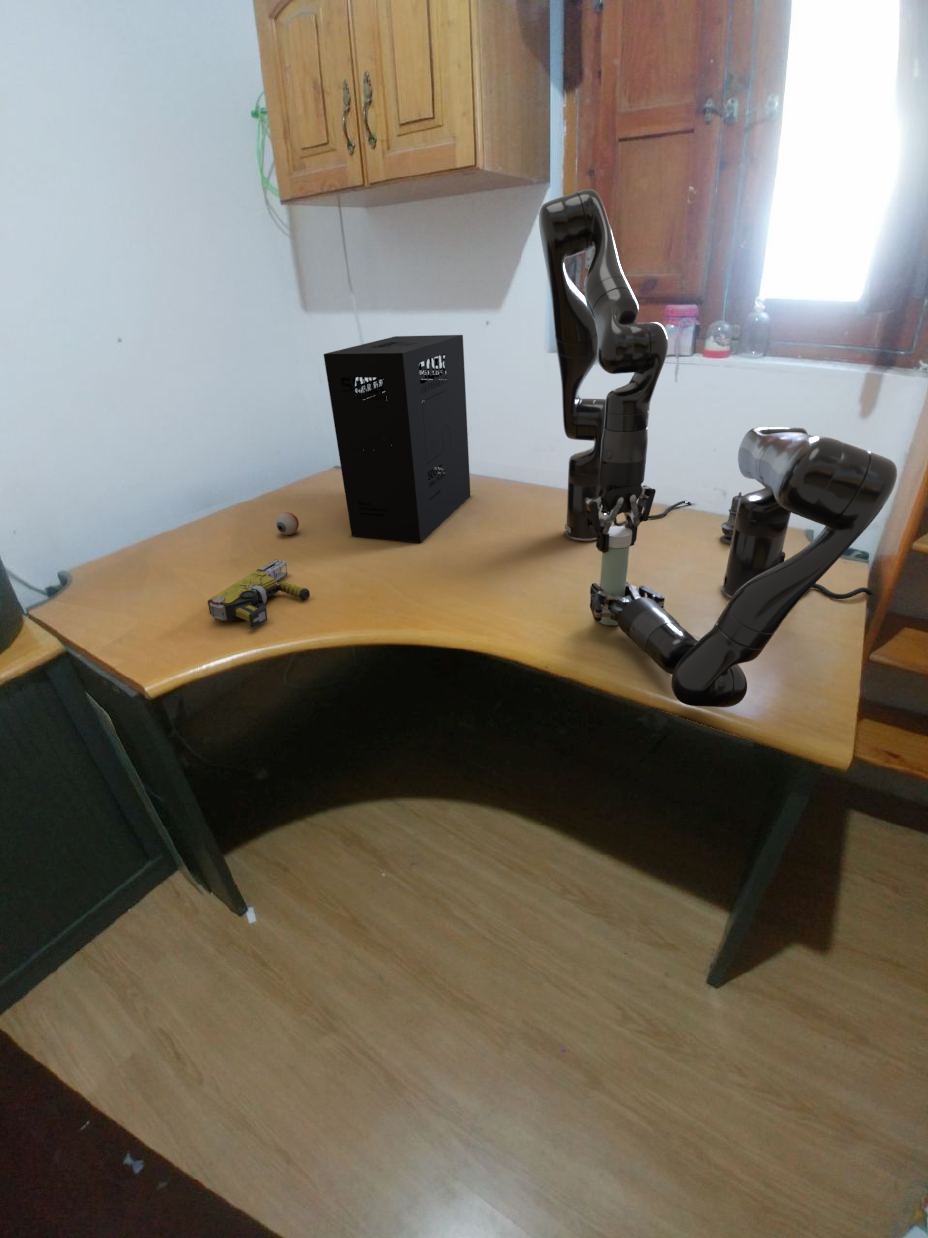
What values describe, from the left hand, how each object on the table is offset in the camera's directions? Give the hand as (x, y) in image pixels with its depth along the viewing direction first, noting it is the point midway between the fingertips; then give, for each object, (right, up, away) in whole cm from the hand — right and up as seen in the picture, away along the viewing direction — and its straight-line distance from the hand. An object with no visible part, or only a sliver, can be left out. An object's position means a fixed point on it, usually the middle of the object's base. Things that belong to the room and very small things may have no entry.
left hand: (615, 547), depth 110 cm
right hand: (0, -7, +7) cm, 9 cm away
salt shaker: (+37, +6, +37) cm, 53 cm away
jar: (+1, -13, +8) cm, 15 cm away
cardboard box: (-42, +17, +64) cm, 78 cm away
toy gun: (-69, -9, +21) cm, 73 cm away
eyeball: (-76, +10, +55) cm, 94 cm away
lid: (0, +2, -1) cm, 3 cm away
